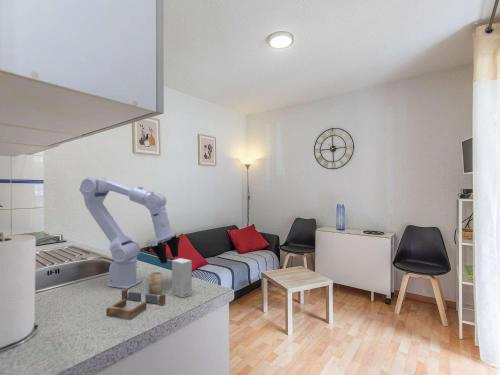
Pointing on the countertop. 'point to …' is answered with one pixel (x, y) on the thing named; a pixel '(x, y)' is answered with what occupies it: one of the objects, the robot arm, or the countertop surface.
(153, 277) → the peg
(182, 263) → the skincare box
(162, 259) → the robot arm
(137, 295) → the flap left
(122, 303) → the bay
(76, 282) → the countertop surface
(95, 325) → the countertop surface
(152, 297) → the flap right
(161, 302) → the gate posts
